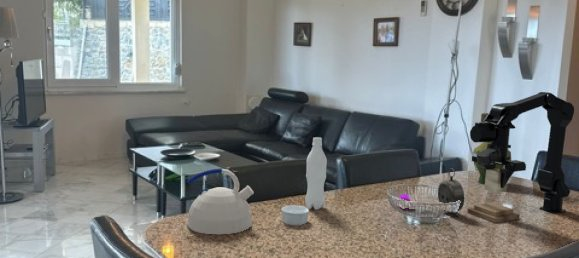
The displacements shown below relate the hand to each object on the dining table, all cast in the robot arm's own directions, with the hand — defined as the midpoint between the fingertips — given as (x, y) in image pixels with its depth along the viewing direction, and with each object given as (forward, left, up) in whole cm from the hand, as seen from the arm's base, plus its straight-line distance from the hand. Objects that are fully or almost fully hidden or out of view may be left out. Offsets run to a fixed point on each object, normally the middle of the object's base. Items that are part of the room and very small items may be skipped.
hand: (495, 186), depth 186 cm
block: (0, 0, -2) cm, 2 cm away
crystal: (+23, -20, -11) cm, 32 cm away
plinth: (0, 0, -11) cm, 11 cm away
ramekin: (+67, -21, -11) cm, 71 cm away
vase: (-37, -35, -11) cm, 52 cm away
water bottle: (+53, -32, -11) cm, 63 cm away
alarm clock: (+13, -8, -11) cm, 19 cm away
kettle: (+90, -28, -11) cm, 95 cm away
